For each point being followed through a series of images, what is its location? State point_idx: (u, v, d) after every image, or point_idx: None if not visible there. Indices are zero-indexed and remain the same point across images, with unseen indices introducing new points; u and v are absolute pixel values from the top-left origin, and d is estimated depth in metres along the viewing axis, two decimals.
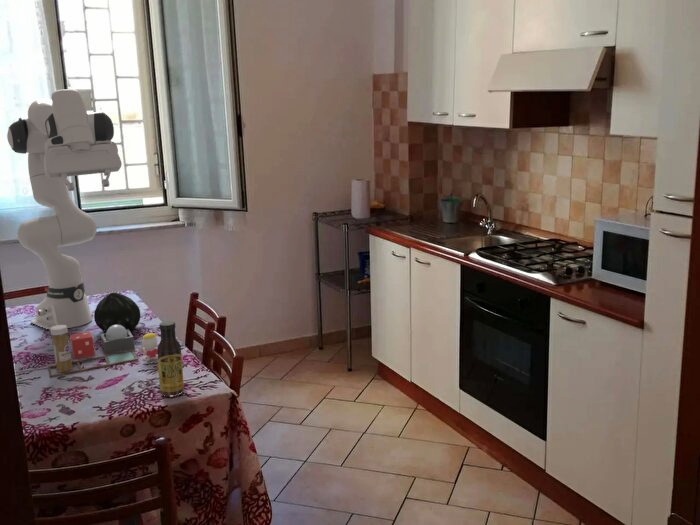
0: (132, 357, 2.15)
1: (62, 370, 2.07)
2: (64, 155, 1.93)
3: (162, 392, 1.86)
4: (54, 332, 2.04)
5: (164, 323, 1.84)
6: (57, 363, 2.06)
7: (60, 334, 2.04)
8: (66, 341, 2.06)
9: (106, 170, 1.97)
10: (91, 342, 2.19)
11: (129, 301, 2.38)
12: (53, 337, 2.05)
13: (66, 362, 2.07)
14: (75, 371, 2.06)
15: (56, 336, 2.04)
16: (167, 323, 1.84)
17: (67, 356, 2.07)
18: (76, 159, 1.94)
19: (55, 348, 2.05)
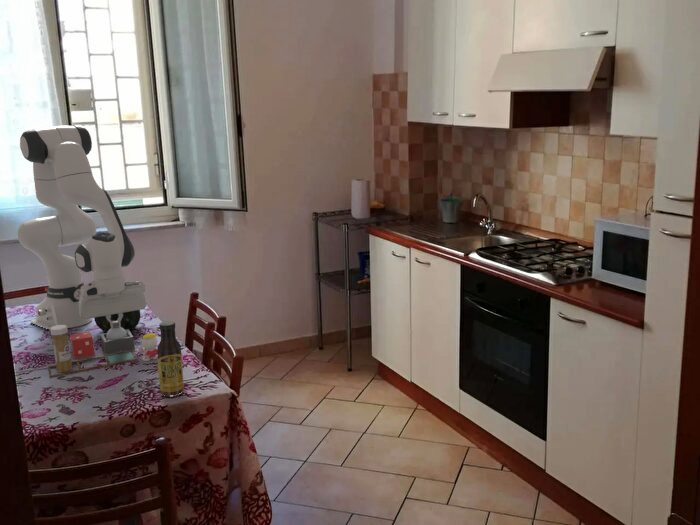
0: (132, 357, 2.15)
1: (62, 370, 2.07)
2: (97, 301, 2.18)
3: (162, 392, 1.86)
4: (54, 332, 2.04)
5: (164, 323, 1.84)
6: (57, 363, 2.06)
7: (60, 334, 2.04)
8: (66, 341, 2.06)
9: (119, 314, 2.23)
10: (91, 342, 2.19)
11: None
12: (53, 337, 2.05)
13: (66, 362, 2.07)
14: (75, 371, 2.06)
15: (56, 336, 2.04)
16: (167, 323, 1.84)
17: (67, 356, 2.07)
18: (107, 304, 2.20)
19: (55, 348, 2.05)
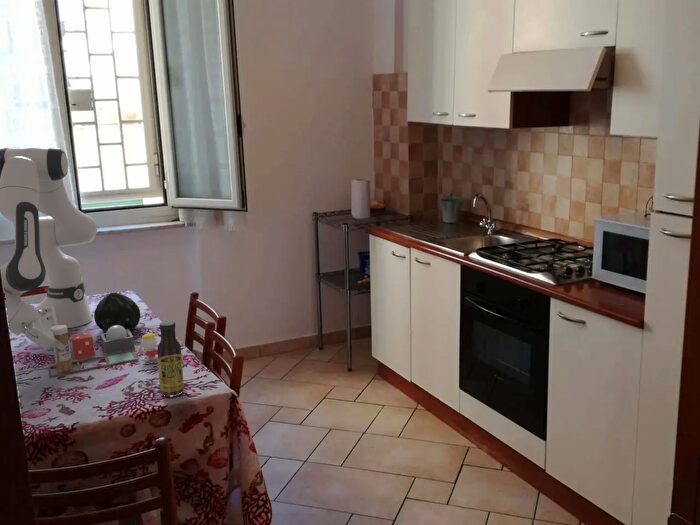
0: (132, 357, 2.15)
1: (62, 370, 2.07)
2: None
3: (162, 392, 1.86)
4: (54, 332, 2.04)
5: (164, 323, 1.84)
6: (57, 363, 2.06)
7: (60, 334, 2.04)
8: (66, 341, 2.06)
9: None
10: (91, 342, 2.19)
11: (129, 301, 2.38)
12: None
13: (66, 362, 2.07)
14: (75, 371, 2.06)
15: (56, 336, 2.04)
16: (167, 323, 1.84)
17: (67, 356, 2.07)
18: None
19: (55, 348, 2.05)
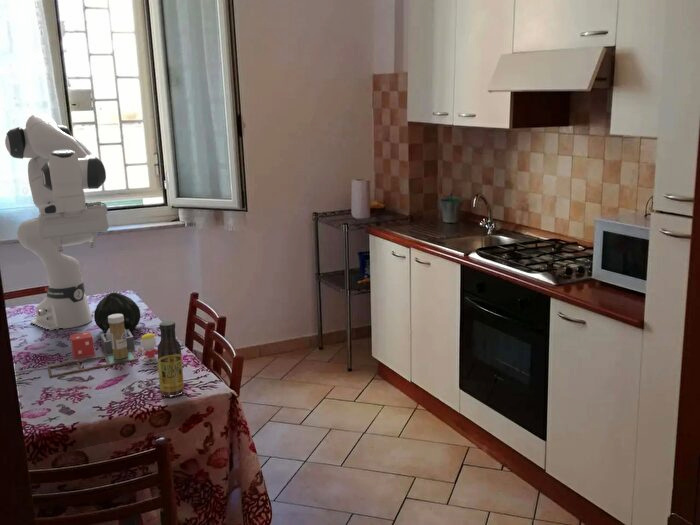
0: (132, 357, 2.15)
1: (119, 357, 2.14)
2: (56, 220, 2.10)
3: (162, 392, 1.86)
4: (112, 320, 2.11)
5: (164, 323, 1.84)
6: (114, 351, 2.13)
7: (118, 322, 2.11)
8: (123, 329, 2.13)
9: (94, 233, 2.16)
10: (91, 342, 2.19)
11: (129, 301, 2.38)
12: (111, 325, 2.12)
13: (123, 350, 2.14)
14: (75, 371, 2.06)
15: (114, 324, 2.11)
16: (167, 323, 1.84)
17: (123, 344, 2.14)
18: (67, 224, 2.12)
19: (112, 336, 2.12)
